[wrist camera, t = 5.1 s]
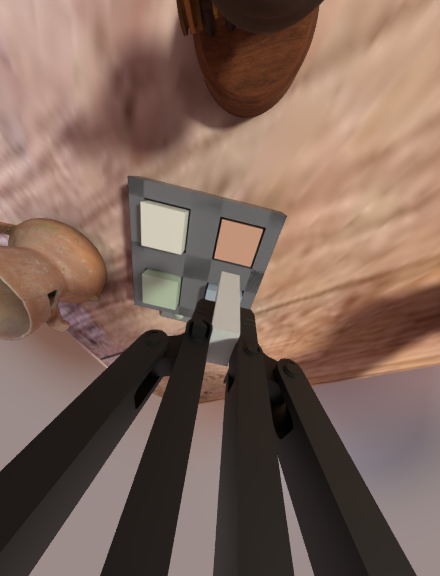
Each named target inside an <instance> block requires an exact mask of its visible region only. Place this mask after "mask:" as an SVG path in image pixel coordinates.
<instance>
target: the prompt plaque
mask: <svg viewBox="0 0 440 576" xmlns="http://www.w3.org/2000/svg"><path fill="white" fill-rule="evenodd" d="M161 316H162V317H166V318H170V319H175V320H179V321H183V322H188V320H190V319H191V318H190V317H186V316H182V315H177V314H173V313H169V312H164V311H162V313H161Z"/></svg>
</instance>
